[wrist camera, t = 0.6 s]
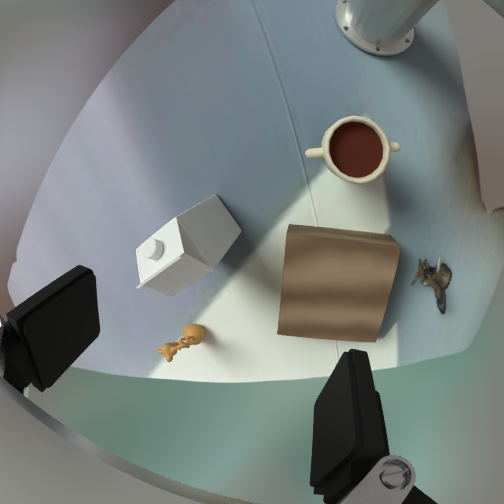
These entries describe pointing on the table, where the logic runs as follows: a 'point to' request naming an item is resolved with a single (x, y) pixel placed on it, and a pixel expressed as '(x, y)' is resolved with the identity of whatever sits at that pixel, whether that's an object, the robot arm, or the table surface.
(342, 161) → the character mug
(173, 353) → the figurine
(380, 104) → the table surface
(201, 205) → the milk carton
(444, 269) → the eagle figurine
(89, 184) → the table surface
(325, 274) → the walnut block
